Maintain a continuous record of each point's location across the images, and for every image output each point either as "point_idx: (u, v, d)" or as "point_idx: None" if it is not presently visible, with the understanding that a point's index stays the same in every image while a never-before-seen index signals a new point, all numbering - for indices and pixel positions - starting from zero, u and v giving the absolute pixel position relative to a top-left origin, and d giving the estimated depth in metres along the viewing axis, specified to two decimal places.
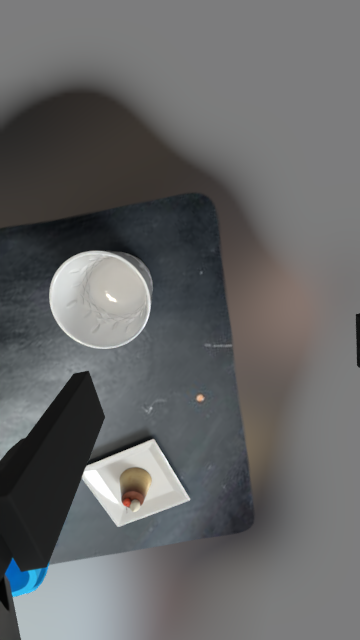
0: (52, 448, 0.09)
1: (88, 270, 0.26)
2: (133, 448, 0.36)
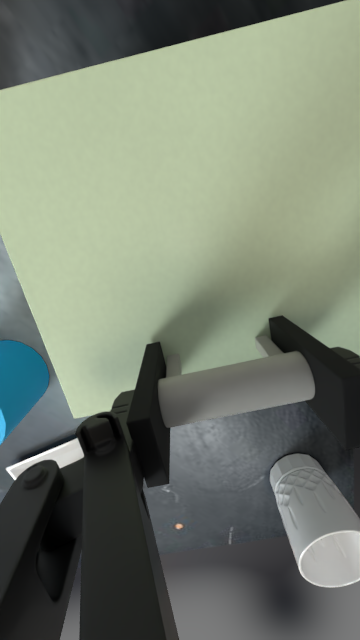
0: (157, 395, 0.10)
1: None
2: None
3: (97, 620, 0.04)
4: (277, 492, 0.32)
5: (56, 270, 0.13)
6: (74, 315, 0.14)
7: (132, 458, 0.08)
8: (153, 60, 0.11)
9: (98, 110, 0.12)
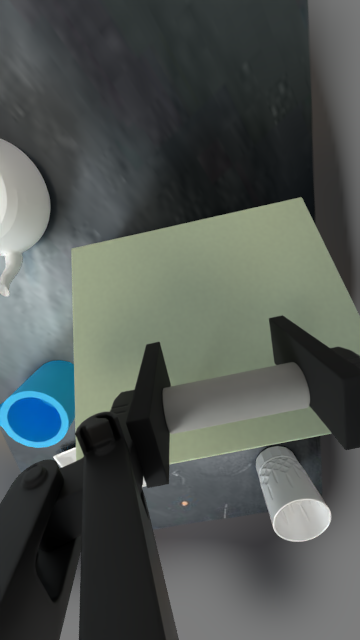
0: (157, 395, 0.10)
1: None
2: None
3: (97, 620, 0.04)
4: (260, 475, 0.42)
5: (101, 332, 0.18)
6: (105, 367, 0.17)
7: (132, 458, 0.08)
8: (181, 227, 0.21)
9: (149, 247, 0.20)
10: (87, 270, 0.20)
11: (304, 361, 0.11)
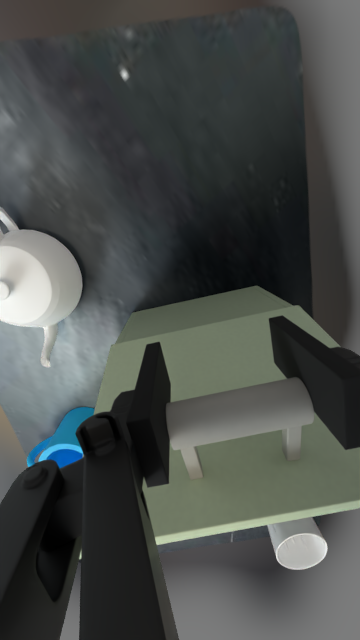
0: (157, 395, 0.10)
1: None
2: None
3: (97, 620, 0.04)
4: None
5: None
6: None
7: (132, 458, 0.08)
8: (200, 327, 0.25)
9: (173, 340, 0.25)
10: (120, 357, 0.24)
11: (304, 361, 0.11)
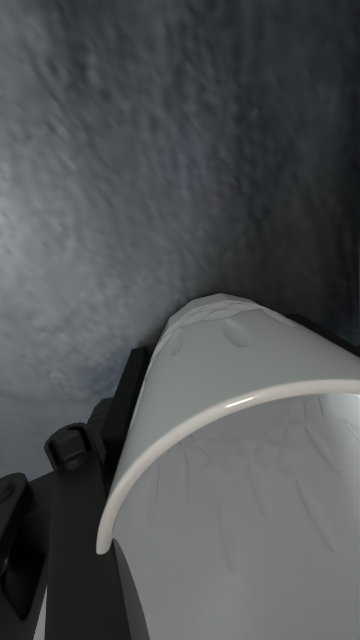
0: None
1: None
2: None
3: None
4: None
5: None
6: None
7: (105, 469, 0.08)
8: None
9: None
10: None
11: None
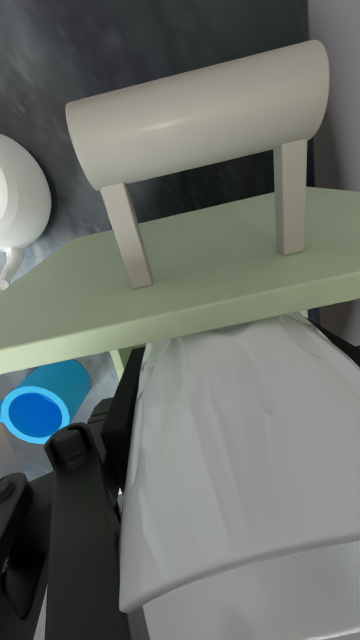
0: None
1: None
2: None
3: None
4: None
5: (65, 261, 0.15)
6: (51, 276, 0.12)
7: (105, 469, 0.08)
8: (180, 214, 0.21)
9: (144, 225, 0.20)
10: (78, 242, 0.19)
11: None
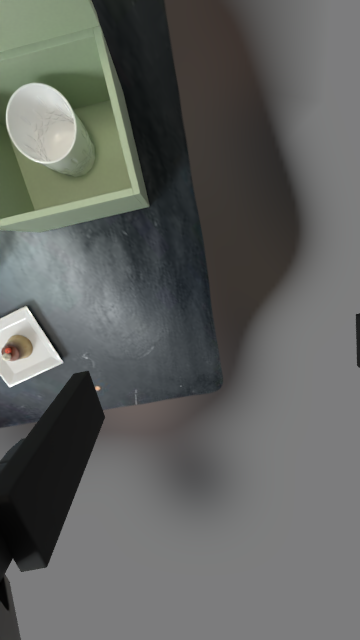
0: (52, 448, 0.09)
1: (74, 120, 0.35)
2: (53, 348, 0.48)
3: None
4: None
5: None
6: None
7: None
8: None
9: None
10: None
11: None
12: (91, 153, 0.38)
